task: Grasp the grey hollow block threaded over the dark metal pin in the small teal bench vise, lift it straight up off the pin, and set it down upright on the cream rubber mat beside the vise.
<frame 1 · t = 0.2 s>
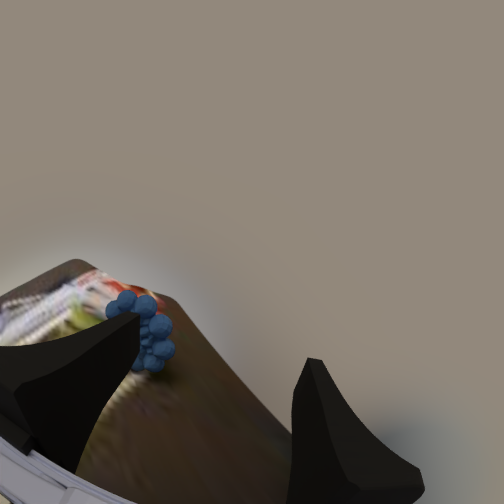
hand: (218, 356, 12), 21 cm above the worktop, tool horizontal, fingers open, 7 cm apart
grapes: (139, 365, 37), on the worktop
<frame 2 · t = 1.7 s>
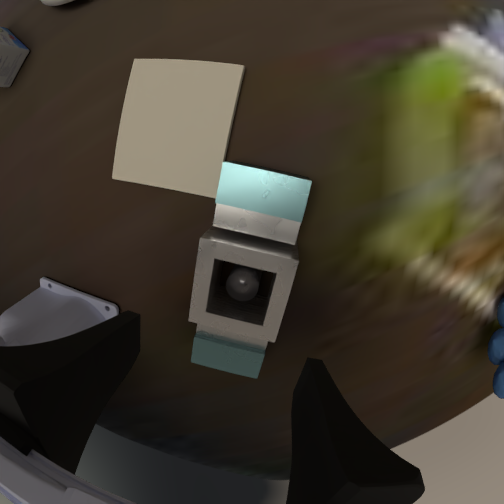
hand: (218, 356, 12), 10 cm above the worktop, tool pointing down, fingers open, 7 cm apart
grey hollow block: (248, 268, 21), resting in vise
medicine box: (9, 56, 17), on the worktop
mat: (174, 122, 19), on the worktop
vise: (248, 268, 21), on the worktop
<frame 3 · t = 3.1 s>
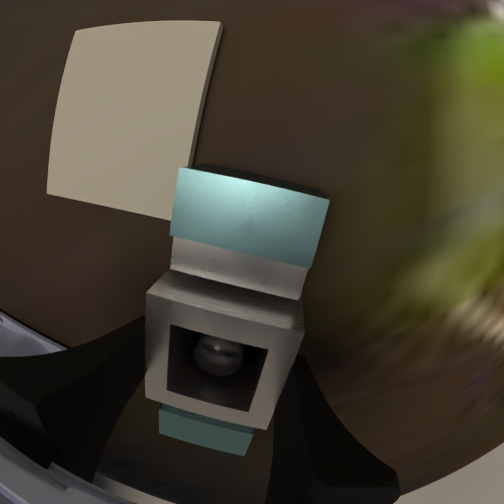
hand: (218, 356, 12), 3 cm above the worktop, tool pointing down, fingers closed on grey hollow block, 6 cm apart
grey hollow block: (230, 320, 15), resting in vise, touching gripper
mat: (121, 111, 12), on the worktop
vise: (230, 320, 15), on the worktop
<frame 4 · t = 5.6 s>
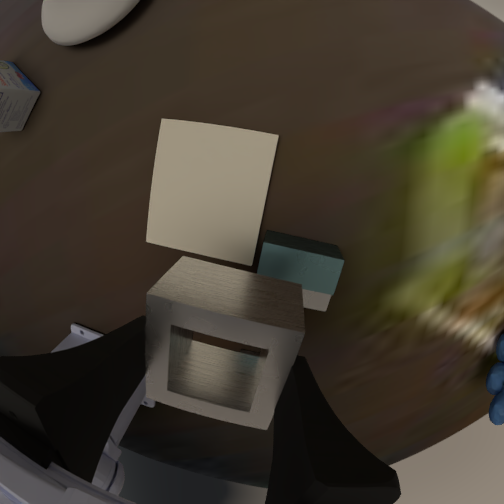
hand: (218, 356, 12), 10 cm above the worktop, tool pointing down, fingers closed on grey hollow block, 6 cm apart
grey hollow block: (230, 321, 15), point 8 cm above the worktop, touching gripper
medicine box: (18, 94, 19), on the worktop
mat: (208, 189, 20), on the worktop
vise: (279, 324, 23), on the worktop
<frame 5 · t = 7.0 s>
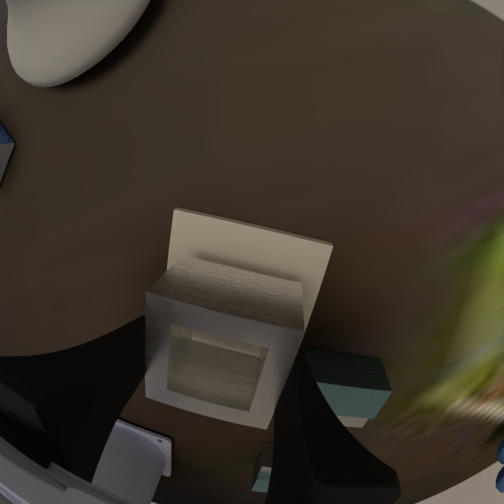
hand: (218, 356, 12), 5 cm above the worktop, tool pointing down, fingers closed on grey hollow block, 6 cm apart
flower in vase: (95, 1, 12), on the worktop
grey hollow block: (230, 320, 15), point 2 cm above the worktop, touching gripper
mat: (236, 302, 16), on the worktop
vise: (308, 424, 19), on the worktop
when the fingers open (5 cm above the worktop, at t = 8.0 s): grey hollow block drops 1 cm, resting on mat.
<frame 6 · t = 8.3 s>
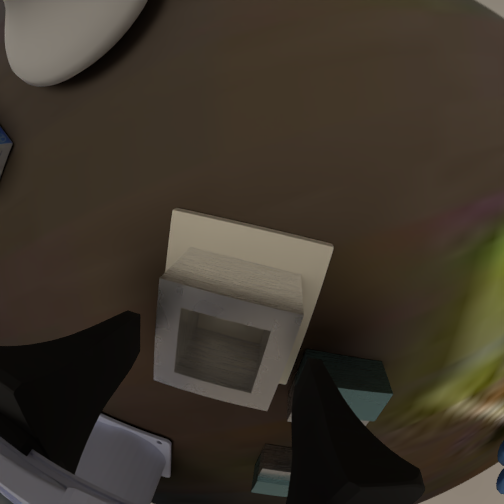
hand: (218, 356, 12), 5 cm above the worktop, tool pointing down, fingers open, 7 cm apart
grey hollow block: (234, 308, 16), point 1 cm above the worktop, touching mat
mat: (236, 303, 16), on the worktop
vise: (308, 426, 19), on the worktop
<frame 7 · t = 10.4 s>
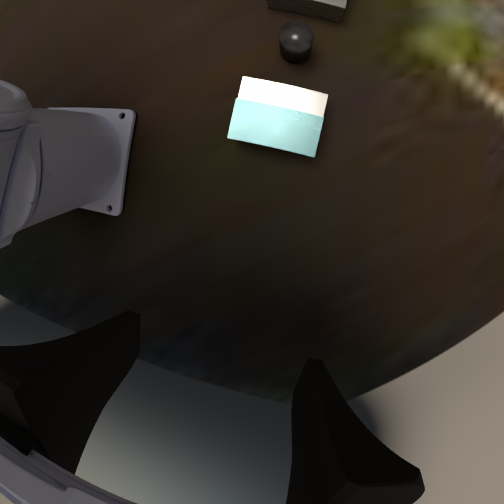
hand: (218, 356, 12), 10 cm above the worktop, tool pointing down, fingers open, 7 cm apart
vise: (295, 50, 16), on the worktop
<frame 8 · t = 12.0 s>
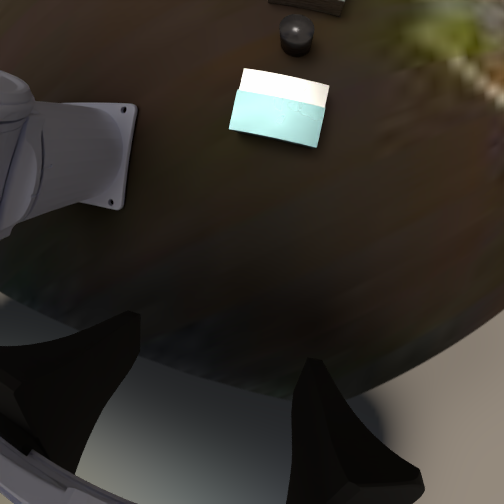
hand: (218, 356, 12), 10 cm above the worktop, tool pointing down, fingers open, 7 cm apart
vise: (295, 44, 16), on the worktop
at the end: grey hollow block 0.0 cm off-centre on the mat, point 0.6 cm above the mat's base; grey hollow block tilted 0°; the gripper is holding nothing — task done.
